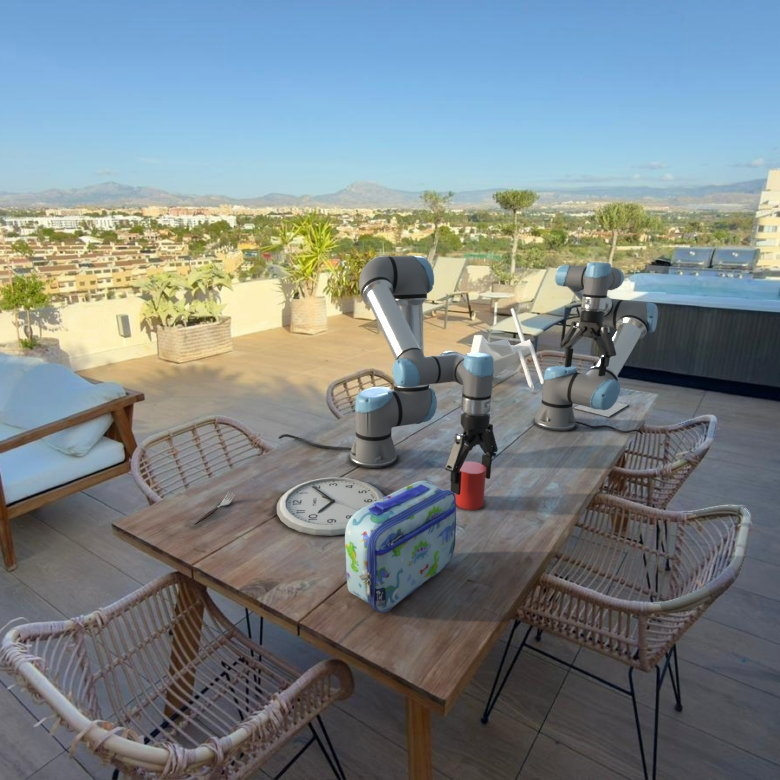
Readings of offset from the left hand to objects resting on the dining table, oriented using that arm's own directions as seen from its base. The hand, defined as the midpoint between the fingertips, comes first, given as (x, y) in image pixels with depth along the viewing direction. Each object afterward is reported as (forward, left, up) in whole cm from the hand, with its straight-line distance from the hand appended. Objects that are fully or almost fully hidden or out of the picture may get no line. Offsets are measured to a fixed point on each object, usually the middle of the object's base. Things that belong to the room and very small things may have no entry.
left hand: (470, 484), depth 144 cm
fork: (-62, -31, -6) cm, 69 cm away
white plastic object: (-12, +117, -6) cm, 117 cm away
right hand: (+26, +58, +21) cm, 67 cm away
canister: (0, 0, -6) cm, 6 cm away
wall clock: (-35, -16, -6) cm, 38 cm away
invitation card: (+35, +104, -6) cm, 109 cm away
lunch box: (-6, -39, -6) cm, 40 cm away
